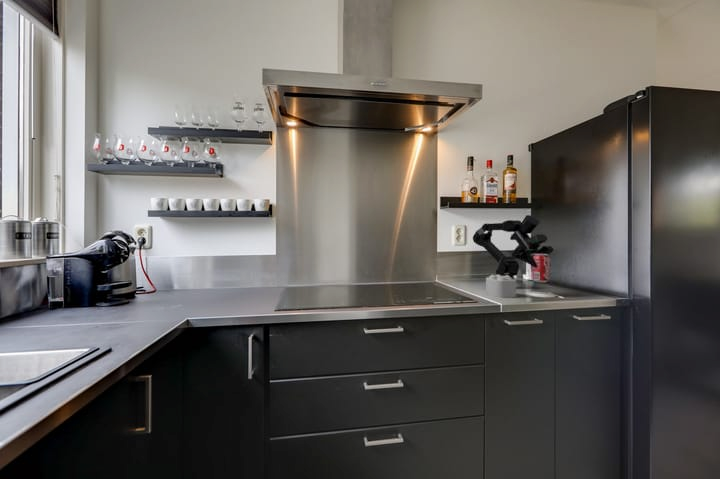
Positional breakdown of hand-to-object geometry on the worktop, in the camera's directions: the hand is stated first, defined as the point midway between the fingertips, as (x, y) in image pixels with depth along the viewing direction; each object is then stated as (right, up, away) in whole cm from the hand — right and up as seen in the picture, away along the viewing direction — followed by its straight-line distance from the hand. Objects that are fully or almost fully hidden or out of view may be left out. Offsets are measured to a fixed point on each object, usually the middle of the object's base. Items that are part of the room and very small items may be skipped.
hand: (543, 266), depth 137 cm
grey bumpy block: (-18, -13, +2) cm, 23 cm away
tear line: (+6, -13, +1) cm, 14 cm away
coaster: (0, -13, +1) cm, 13 cm away
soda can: (0, -7, +1) cm, 7 cm away
